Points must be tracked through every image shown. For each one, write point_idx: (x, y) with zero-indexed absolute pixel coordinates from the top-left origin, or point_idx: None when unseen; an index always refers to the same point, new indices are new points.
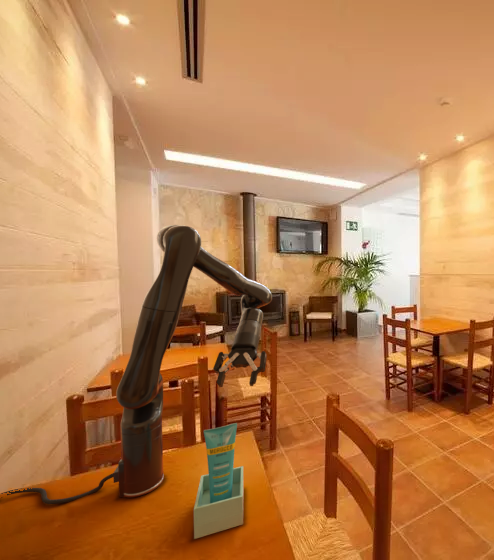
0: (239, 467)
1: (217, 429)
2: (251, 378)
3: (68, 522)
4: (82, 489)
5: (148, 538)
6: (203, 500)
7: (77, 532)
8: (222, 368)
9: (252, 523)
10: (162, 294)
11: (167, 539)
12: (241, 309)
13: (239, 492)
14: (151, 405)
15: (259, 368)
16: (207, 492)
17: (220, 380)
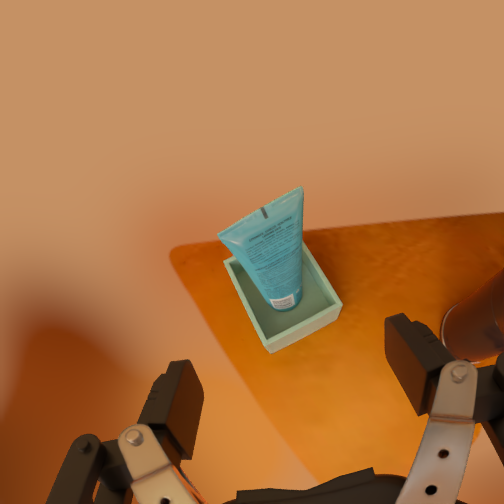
0: (270, 340)
1: (270, 208)
2: (170, 380)
3: (484, 253)
4: None
5: (363, 244)
6: (316, 290)
7: (459, 242)
8: (461, 385)
9: (221, 284)
10: None
11: (335, 246)
12: None
13: (258, 315)
14: None
15: (110, 452)
16: (322, 309)
17: (402, 327)
